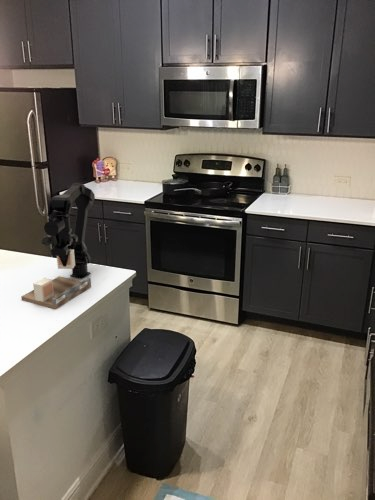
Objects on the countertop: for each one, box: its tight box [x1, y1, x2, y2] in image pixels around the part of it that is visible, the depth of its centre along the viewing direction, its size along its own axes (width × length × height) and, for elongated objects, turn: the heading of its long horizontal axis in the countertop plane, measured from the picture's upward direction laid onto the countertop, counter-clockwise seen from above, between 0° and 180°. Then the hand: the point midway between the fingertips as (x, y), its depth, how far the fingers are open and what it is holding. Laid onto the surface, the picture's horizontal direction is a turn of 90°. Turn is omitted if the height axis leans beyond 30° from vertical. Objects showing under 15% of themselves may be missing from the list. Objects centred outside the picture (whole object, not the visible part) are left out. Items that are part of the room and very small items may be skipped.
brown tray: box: [21, 275, 92, 310], centre depth 176 cm, size 22×17×4 cm
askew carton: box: [56, 249, 75, 270], centre depth 177 cm, size 4×6×7 cm
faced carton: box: [32, 277, 54, 302], centre depth 168 cm, size 4×6×7 cm
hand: (66, 264), depth 178 cm, fingers closed on askew carton, 4 cm apart
